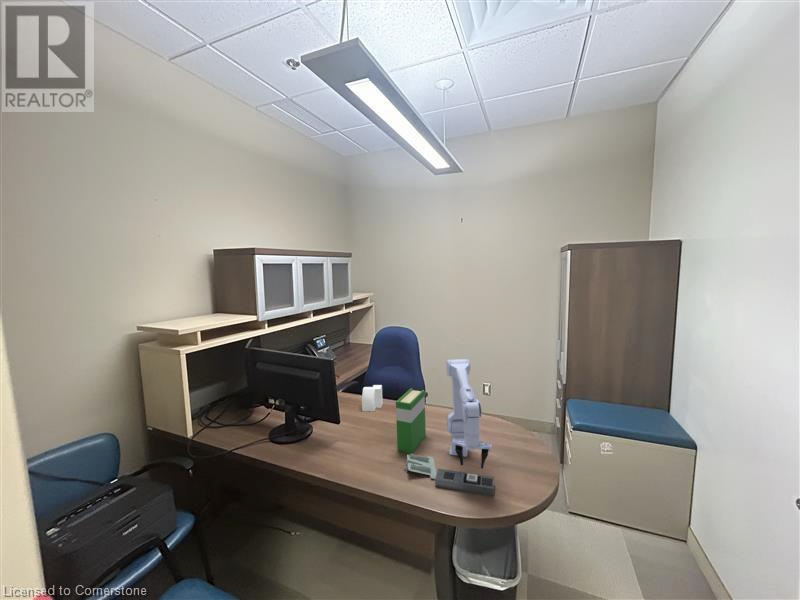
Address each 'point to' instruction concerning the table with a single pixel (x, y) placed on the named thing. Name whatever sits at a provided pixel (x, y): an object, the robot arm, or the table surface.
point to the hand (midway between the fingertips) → (472, 465)
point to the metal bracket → (421, 465)
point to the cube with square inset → (472, 479)
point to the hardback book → (410, 420)
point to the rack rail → (457, 482)
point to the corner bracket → (372, 398)
